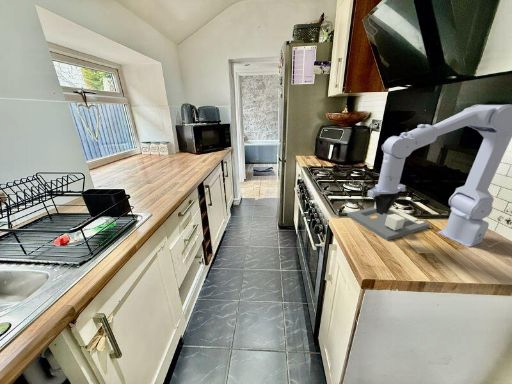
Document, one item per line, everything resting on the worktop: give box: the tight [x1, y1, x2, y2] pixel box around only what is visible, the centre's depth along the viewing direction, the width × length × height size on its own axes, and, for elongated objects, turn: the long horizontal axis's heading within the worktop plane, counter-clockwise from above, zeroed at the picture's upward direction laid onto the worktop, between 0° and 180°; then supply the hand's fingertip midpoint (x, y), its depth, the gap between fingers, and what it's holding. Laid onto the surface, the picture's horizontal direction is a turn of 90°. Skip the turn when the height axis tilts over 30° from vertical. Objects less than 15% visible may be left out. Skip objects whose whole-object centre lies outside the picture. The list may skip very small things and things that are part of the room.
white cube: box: [385, 214, 405, 230], centre depth 78 cm, size 4×4×4 cm
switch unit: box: [346, 206, 431, 241], centre depth 86 cm, size 19×22×2 cm
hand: (381, 212), depth 74 cm, fingers closed
